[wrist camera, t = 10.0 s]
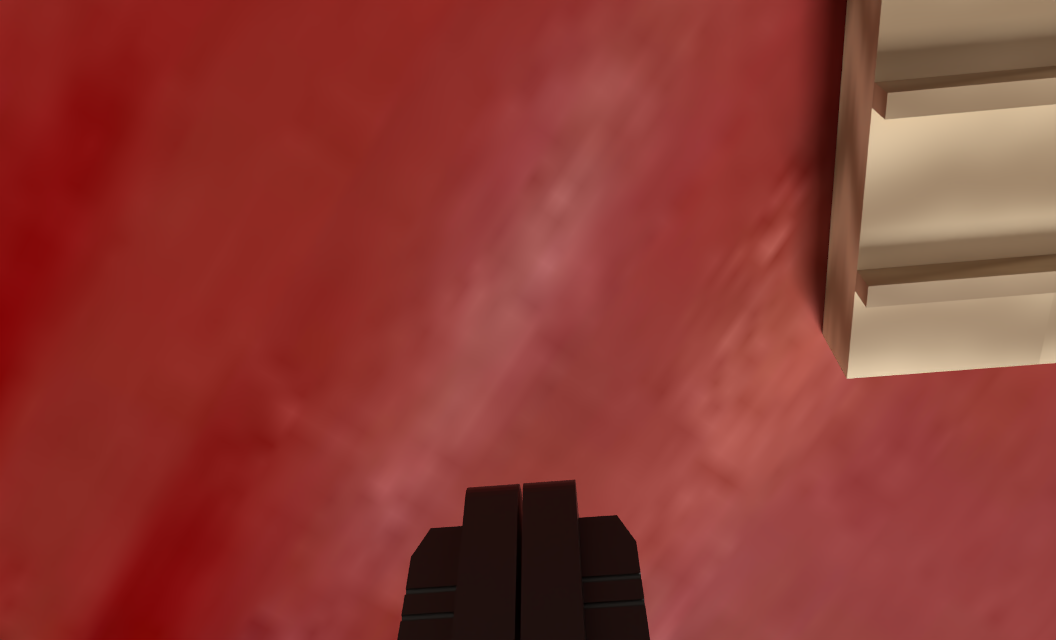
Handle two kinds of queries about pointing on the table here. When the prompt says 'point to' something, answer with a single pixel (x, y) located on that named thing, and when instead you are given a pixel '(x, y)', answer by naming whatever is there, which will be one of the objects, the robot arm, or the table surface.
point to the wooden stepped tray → (944, 188)
